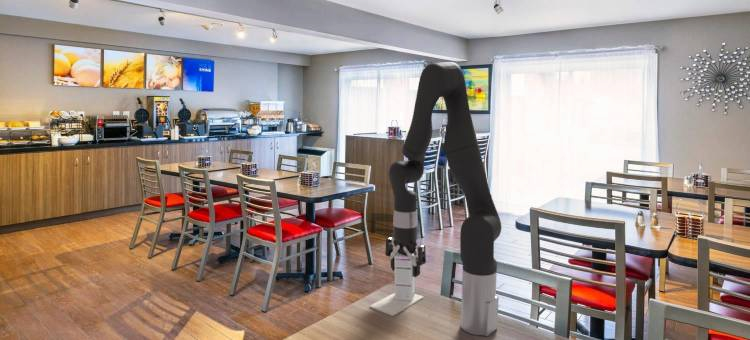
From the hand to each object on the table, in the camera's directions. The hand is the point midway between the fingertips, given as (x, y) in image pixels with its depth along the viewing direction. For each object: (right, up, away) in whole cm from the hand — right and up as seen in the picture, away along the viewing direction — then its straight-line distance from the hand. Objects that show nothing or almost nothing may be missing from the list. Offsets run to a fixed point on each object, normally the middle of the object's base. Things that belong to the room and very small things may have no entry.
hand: (405, 272), depth 150 cm
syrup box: (0, -8, +1) cm, 8 cm away
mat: (-3, -9, -2) cm, 9 cm away
